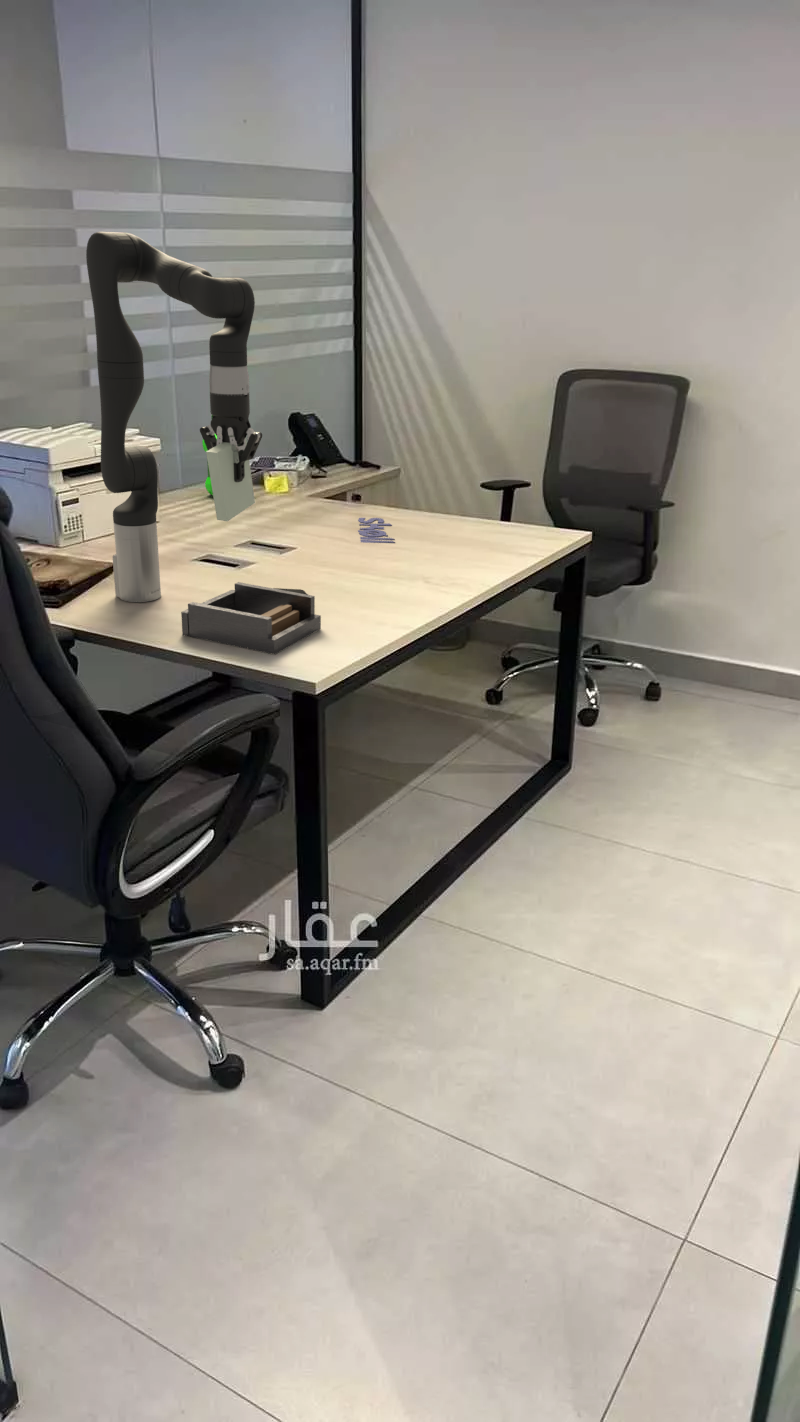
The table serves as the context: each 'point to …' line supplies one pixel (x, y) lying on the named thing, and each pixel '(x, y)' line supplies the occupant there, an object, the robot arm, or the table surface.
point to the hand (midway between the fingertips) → (232, 480)
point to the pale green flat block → (228, 483)
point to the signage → (373, 531)
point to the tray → (250, 618)
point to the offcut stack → (282, 618)
